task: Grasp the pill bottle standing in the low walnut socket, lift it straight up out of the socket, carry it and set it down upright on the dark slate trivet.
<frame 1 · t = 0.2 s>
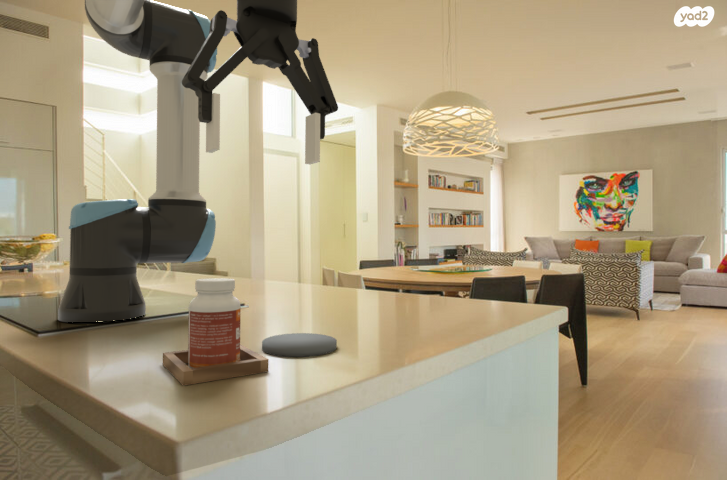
hand: (265, 157, 59), 27 cm above the counter, fingers open, 13 cm apart
pill bottle: (214, 369, 58), resting in socket
socket: (214, 367, 58), on the counter
trivet: (299, 347, 69), on the counter
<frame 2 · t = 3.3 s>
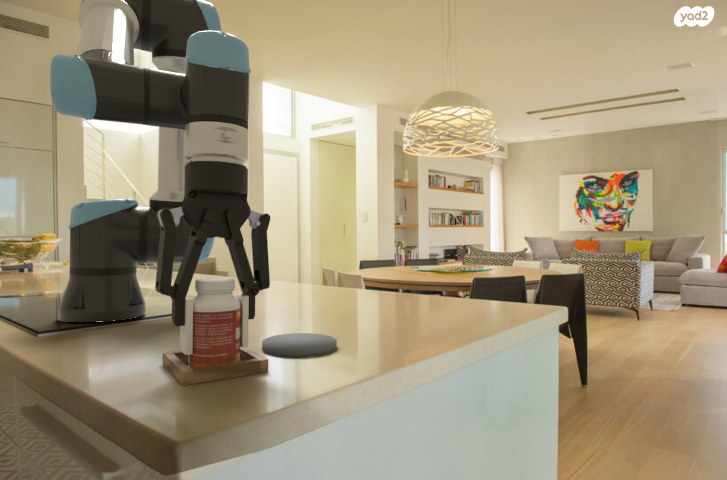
hand: (214, 348, 58), 2 cm above the counter, fingers closed on pill bottle, 6 cm apart
pill bottle: (214, 369, 58), resting in socket, touching gripper
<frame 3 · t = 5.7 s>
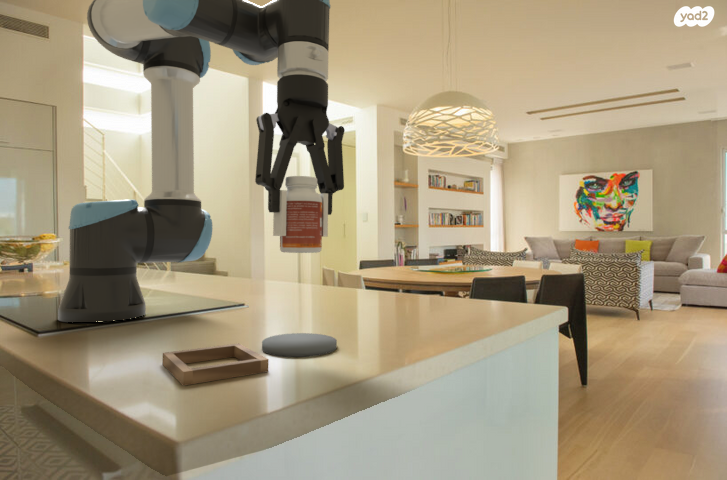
hand: (300, 235, 69), 17 cm above the counter, fingers closed on pill bottle, 6 cm apart
pill bottle: (300, 253, 69), point 14 cm above the counter, touching gripper
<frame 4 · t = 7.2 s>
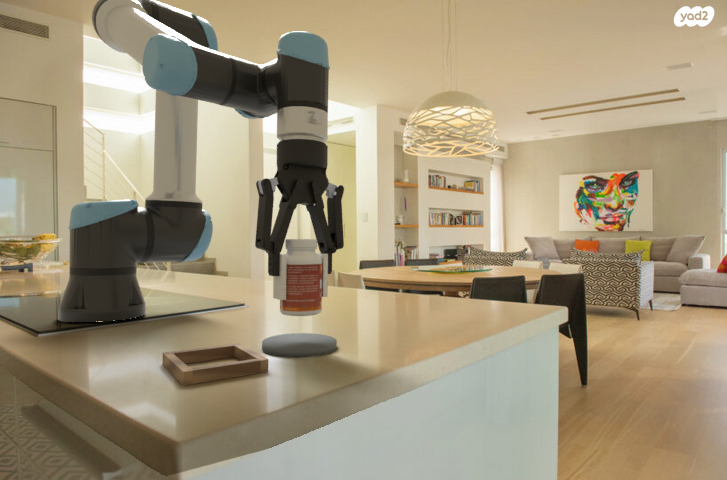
hand: (300, 297, 69), 8 cm above the counter, fingers closed on pill bottle, 6 cm apart
pill bottle: (300, 314, 69), point 5 cm above the counter, touching gripper
when the fingers open (5 cm above the counter, at t = 8.5 s): pill bottle drops 1 cm, resting on trivet.
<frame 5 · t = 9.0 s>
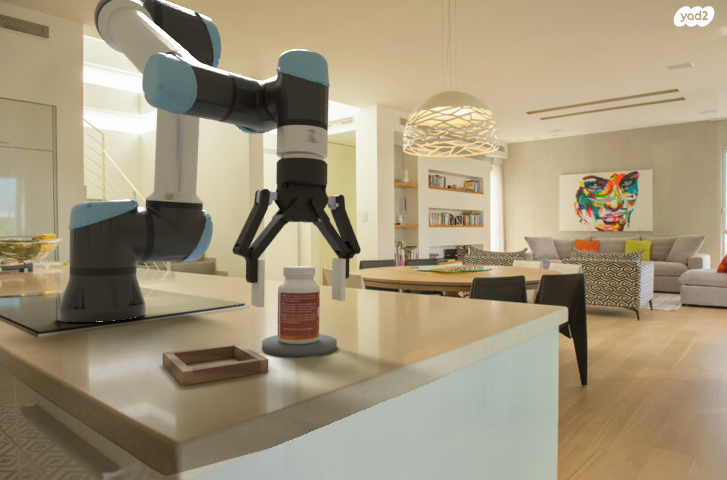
hand: (300, 303, 69), 7 cm above the counter, fingers open, 13 cm apart
pill bottle: (298, 342, 69), point 1 cm above the counter, touching trivet
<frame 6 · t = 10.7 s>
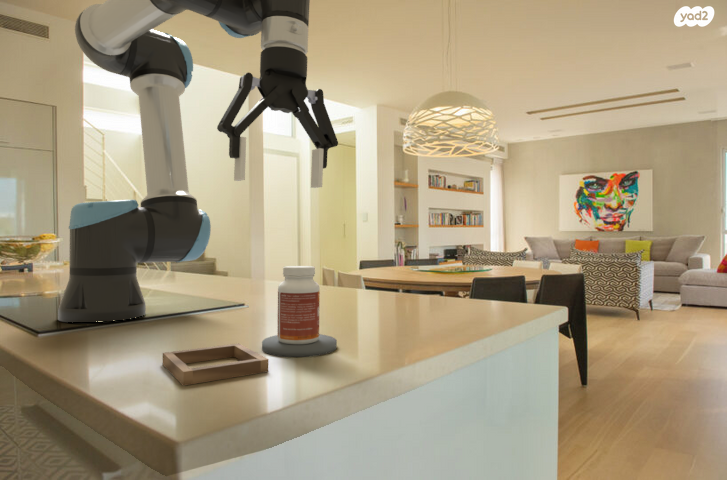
hand: (279, 184, 76), 25 cm above the counter, fingers open, 13 cm apart
nothing on the counter moved.
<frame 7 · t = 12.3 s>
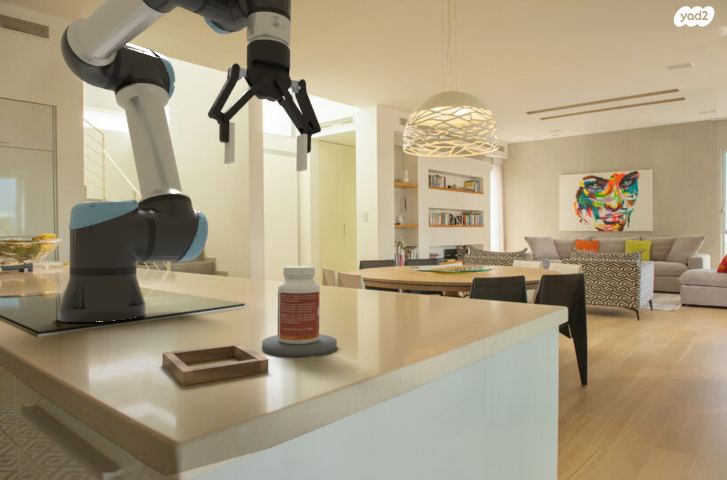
hand: (267, 167, 82), 29 cm above the counter, fingers open, 13 cm apart
nothing on the counter moved.
at the end: pill bottle 0.2 cm from the trivet (horizontally); pill bottle tilted 0°; pill bottle point 0.8 cm above the counter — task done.
